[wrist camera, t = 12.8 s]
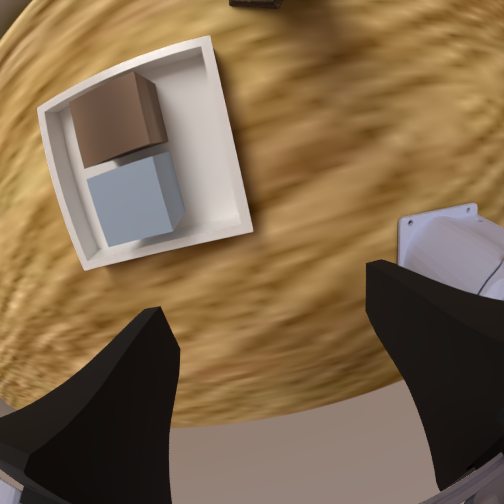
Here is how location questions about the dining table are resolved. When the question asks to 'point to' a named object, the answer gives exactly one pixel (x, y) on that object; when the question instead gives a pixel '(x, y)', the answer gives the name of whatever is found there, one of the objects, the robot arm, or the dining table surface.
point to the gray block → (137, 199)
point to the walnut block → (117, 119)
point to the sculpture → (256, 3)
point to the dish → (179, 144)
